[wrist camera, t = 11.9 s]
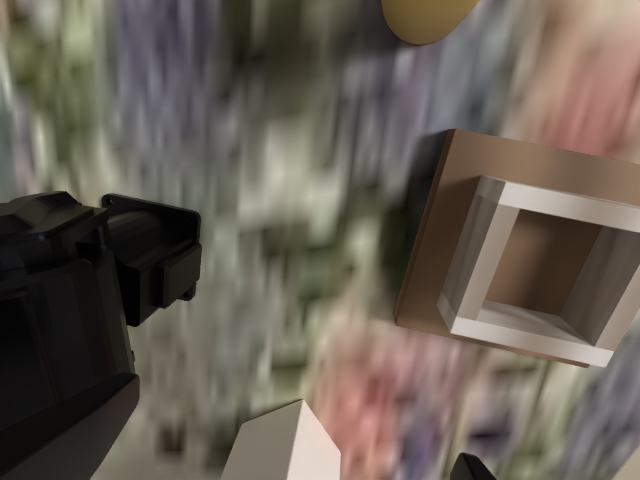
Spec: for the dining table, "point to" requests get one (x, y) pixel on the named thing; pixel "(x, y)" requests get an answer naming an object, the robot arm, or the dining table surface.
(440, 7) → the post
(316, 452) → the milk
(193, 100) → the dining table surface
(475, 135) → the stand
